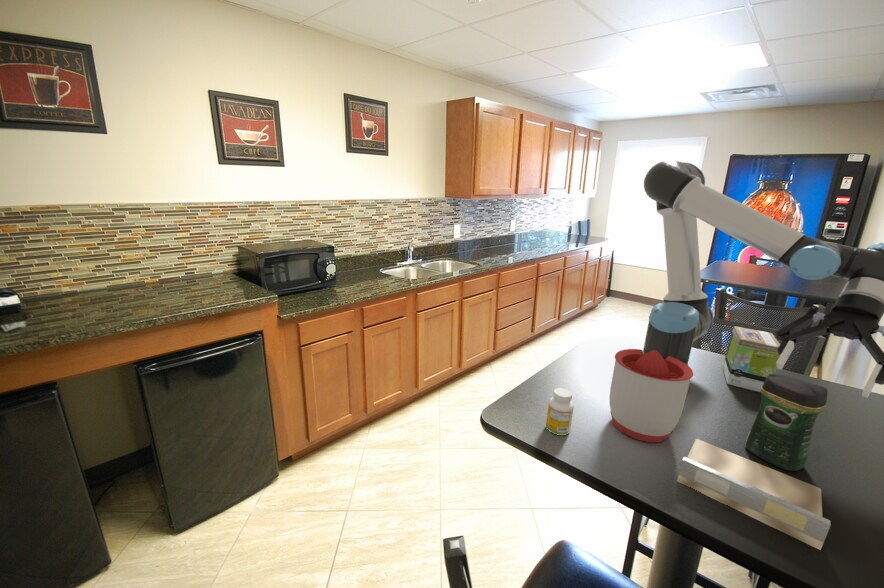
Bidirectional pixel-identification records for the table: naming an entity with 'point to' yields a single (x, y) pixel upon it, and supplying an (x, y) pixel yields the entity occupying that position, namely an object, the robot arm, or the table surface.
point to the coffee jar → (786, 420)
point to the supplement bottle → (560, 412)
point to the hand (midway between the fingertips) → (818, 379)
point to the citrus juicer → (648, 394)
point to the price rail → (756, 499)
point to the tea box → (750, 358)
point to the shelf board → (757, 486)
